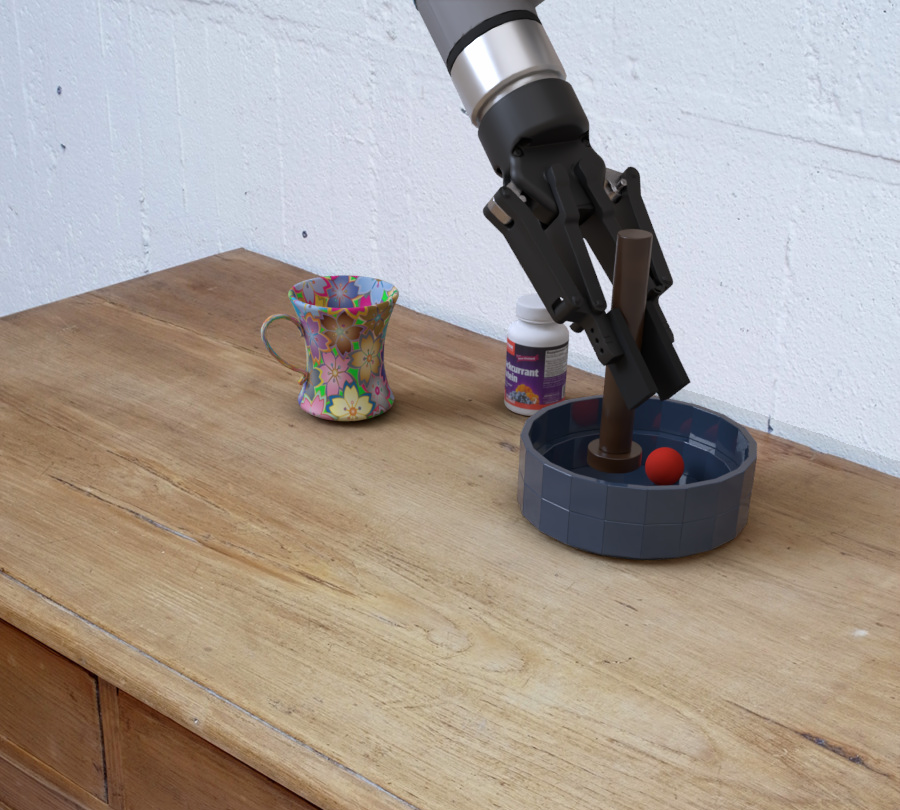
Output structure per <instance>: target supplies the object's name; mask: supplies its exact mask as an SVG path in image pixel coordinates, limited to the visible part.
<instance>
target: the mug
mask: <svg viewBox="0 0 900 810" xmlns="http://www.w3.org/2000/svg"><path fill="white" fill-rule="evenodd" d="M287 296H288V300H289V301H290V304H291V305H292V307H293V309H294V312H295V314H296V317H297V318H295V317H294V316H293V315H290V314H287V313H281V312H280V313H275V314H272V315H270V316H268V317H267V318H266V319H265V320H264V321H263V322H262V324H261V327H260V337H261V341H262V344H263V345H264V347H265V349H266V350H267V352H268V353H269V354H270V355H271V357H273V359H274V360H276V361H277V362H278V363H280V364H281V365H282V366H284V368H287V369H289V370H291V371H293V372H295V373H299V374H301V376H300V377H299V379H298V380H297V383H298V384H299V385H300V386H302V387H301V389H300V391H299V392H298V393H299V394H298V396H297V403H298V406H299V407H300V409H302V411H304V412H306V413H307V414H309V415H311V416H312V417H313V416H314V417H316V418H319V419H323V420H329V421H335V422H356V421H363V420H368V419H372V418H375V417H378V416H380V415H383V414H384V413H386V412H387V411H389V410H390V409H391V408H392V407H393V405H394V403H395V400H396V399H395V395H394V393H393V391H392V389H391V386H390V384H389V381H388V377H387V373H386V366H385V345H386V337H387V331H388V326H389V323H390V320H391V317H392V314H393V311H394V308H395V307H396V304H397V301H398V299H399V297H400V293H399V290H398V288H397V287H396V286H395V285H393V283H390V282H389V281H385V280H383V279H380V278H375V277H371V276H362V275H350V274H349V275H347V274H345V275H344V274H342V275H341V274H340V275H339V274H338V275H326V276H325V275H324V276H319V277H318V276H317V277H313V278H309V279H305V280H302V281H300V282H298V283H296V284H294V285H292V287H290V289H289V290H288V293H287ZM278 320H286V321H289V322H292V323H293V324H294V325H295V327H296V328H297V331H298V333H299V336H300V337H302V338H303V340H304V346H305V357H306V358H305V359H306V362H305V363H306V364H305V366H306V367H305V369H304V368H302V367H300V366H297V365H294V364H293V363H290V362H288V361H287V360H285V359H283V357H281V356H280V355H279V354H278V353H276V351H275V350H274V349H273V348H272V346H271V344H270V342H269V340H268V337H267V330H268V328H269V326H270V325H271V324H272V323H274V322H276V321H278Z"/></svg>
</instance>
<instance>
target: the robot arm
mask: <svg viewBox="0 0 900 810" xmlns="http://www.w3.org/2000/svg"><path fill="white" fill-rule="evenodd" d="M545 1H546V0H412V3H413V5H414V7H415V10H417V12H419V15H420V17H421V18H422V21H423V23H424V25H425V27H426V29H427V31H428V33H429V35H430V37H431V39H432V41H433V43H434V45H435V47H436V49H437V51H438V53H439V55H440V58H441V59H442V61H443V63H444V66H445V67H446V71H447V72H448V74H449V76H450V78H451V81H452V84H453V86H454V89H455V90H456V92H457V94H458V96H459V99H460V100H461V103H462V105H463V107H464V109H465V111H466V114H467V115H468V118H469V120H470V122H471V125H473V126H474V127H475V129H477V138H478V140H479V142H480V144H481V146H482V148H483V150H484V153H485V155H486V157H487V159H488V162H489V163H490V166H491V168H492V170H493V172H494V173H495V175H497V176H498V177H499V178H500V179H502V186H500V187H499V188H498V189H497V191H496V192H495V193H494V194H493V195H492V196H491V198H490V199H489V200H488V202H487V203H486V204H485V205H484V207H483V209H482V214H483V216H484V217H485V219H486V220H487V221H489V223H490V224H491V225H492V226H493V227H495V229H496V230H498V232H499V233H500V234H501V235H502V236H503V237H504V239H505V241H506V243H507V244H508V246H509V248H510V249H511V251H512V253H513V254H514V257H515V258H516V260H517V261H518V263H519V265H520V266H521V268H522V270H523V271H524V274H525V275H526V277H527V278H528V280H529V282H530V283H531V285H532V287H533V289H534V291H535V293H537V294H538V295H539V297H540V299H541V301H542V302H543V304H544V306H545V307H546V309H547V311H548V313H549V314H550V316H551V318H552V319H553V321H554V322H556V323H557V324H565V323H566V322H569V323H571V324H570V325H569V328H570V330H571V331H572V332H573V333H576V334H580V333H582V332H583V331H584V332H585V335H586V337H587V339H588V341H589V343H590V345H591V348H592V349H593V352H595V356H596V358H597V361H598V362H599V363H601V365H602V366H603V367H606V365H608V367H609V369H610V371H611V373H612V376H613V378H614V380H615V382H616V384H617V386H618V388H619V391H620V393H621V395H622V397H623V399H624V401H625V403H626V405H627V408H628V410H633V409H636V408H638V407H639V406H640V405H642V404H643V403H644V402H645V401H647V400H648V399H649V398H651V397H652V396H654V395H656V394H657V397H659V398H660V401H664V400H667V399H672V397H673V396H674V395H676V394H677V393H679V392H680V391H681V390H683V389H684V388H685V387H686V386H688V385H689V384H691V379H690V378H689V375H688V373H687V371H686V369H685V366H684V364H683V363H682V361H681V359H680V357H679V355H678V352H677V351H676V347H675V346H674V343H675V335H674V332H673V329H672V328H671V326H670V324H669V322H668V320H667V318H666V316H665V314H664V312H663V309H662V307H661V306H660V302H659V301H660V300H659V299H660V297H661V296H662V295H663V294H665V293H666V292H667V291H668V290H669V289H670V288H671V287H672V286H673V285H674V278H673V276H672V274H671V270H670V268H669V265H668V262H667V260H666V258H665V255H664V253H663V250H662V247H661V244H660V241H659V239H658V236H657V233H656V231H655V229H654V226H653V222H652V220H651V217H650V215H649V213H648V210H647V207H646V204H645V202H644V199H643V196H642V187H641V185H642V184H641V173H640V172H639V170H638V169H637V168H636V167H634V166H627V168H625V170H624V171H623V172H621V171H618V170H615V169H613V168H609V167H607V165H606V161H604V159H603V158H602V156H600V154H598V153H597V151H596V150H595V149H594V148H593V146H592V144H591V140H590V121H589V118H588V116H587V114H586V112H585V110H584V108H583V106H582V104H581V102H580V100H579V98H578V96H577V94H576V91H575V89H574V87H573V85H572V84H571V83H570V82H569V81H567V77H568V76H567V73H566V69H565V68H564V66H563V64H562V62H561V60H560V58H559V55H558V53H557V52H556V50H555V48H554V46H553V43H552V41H551V39H550V37H549V36H548V33H547V31H546V29H545V27H544V25H543V23H542V21H541V19H540V17H539V14H538V12H537V9H536V8H537V7H538V6H539V5H541V4H542V3H544V2H545ZM626 229H638V230H644V231H648V232H650V233H652V235H653V239H652V249H651V259H650V269H649V279H648V289H647V299H646V309H645V318H644V328H643V338H642V348H641V353H640V351H639V349H638V347H637V345H636V342H635V340H634V338H633V336H632V334H631V332H630V330H629V328H628V326H627V323H626V321H625V319H624V317H623V315H622V313H621V311H620V309H619V308H615V309H611V308H610V310H609V311H607V312H606V310H607V309H608V302H607V299H606V297H605V294H604V292H603V291H604V290H603V289H602V286H601V284H600V280H599V278H598V275H597V272H596V270H595V267H594V264H593V261H592V259H591V256H590V253H589V250H588V248H587V245H588V246H589V248H590V250H591V252H592V253H593V255H594V257H595V258H596V260H597V262H598V263H599V265H600V267H601V268H602V270H603V272H604V273H605V275H606V277H607V279H608V281H609V282H610V284H611V285H612V286H613V277H614V265H615V254H616V242H617V233H618V232H619V231H621V230H626ZM586 243H587V244H586ZM561 299H562V300H561Z"/></svg>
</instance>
